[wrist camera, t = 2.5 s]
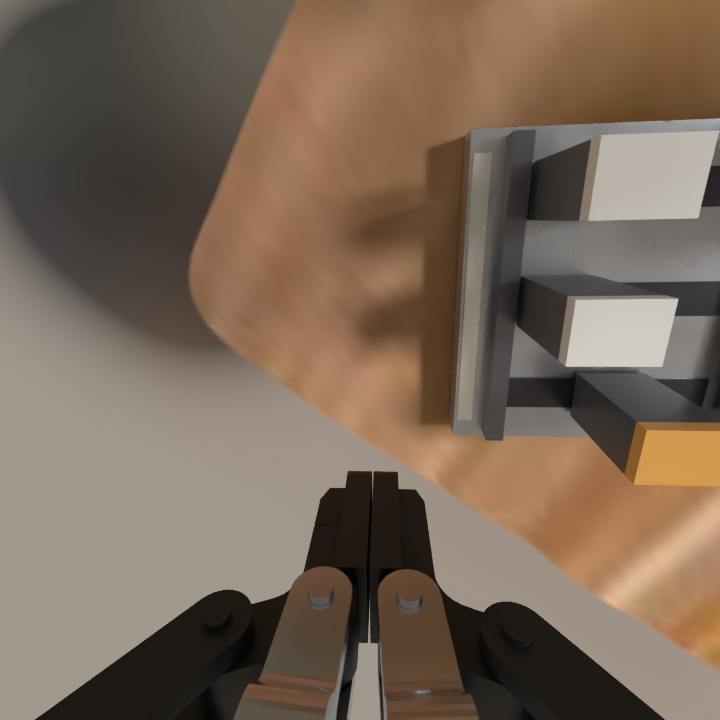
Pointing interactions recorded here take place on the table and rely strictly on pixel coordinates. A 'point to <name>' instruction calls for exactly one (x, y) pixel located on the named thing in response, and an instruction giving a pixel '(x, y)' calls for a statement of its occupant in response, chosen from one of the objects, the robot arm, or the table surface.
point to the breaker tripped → (648, 429)
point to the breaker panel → (569, 258)
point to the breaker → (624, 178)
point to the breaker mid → (596, 320)
